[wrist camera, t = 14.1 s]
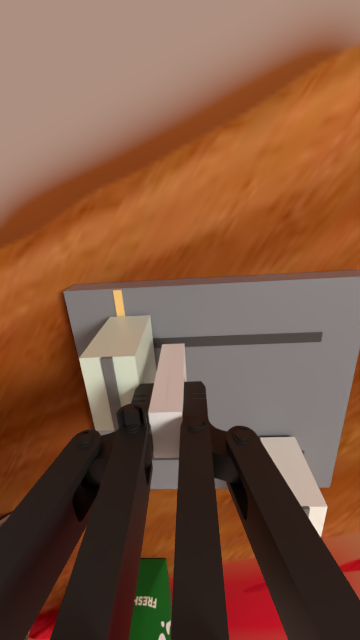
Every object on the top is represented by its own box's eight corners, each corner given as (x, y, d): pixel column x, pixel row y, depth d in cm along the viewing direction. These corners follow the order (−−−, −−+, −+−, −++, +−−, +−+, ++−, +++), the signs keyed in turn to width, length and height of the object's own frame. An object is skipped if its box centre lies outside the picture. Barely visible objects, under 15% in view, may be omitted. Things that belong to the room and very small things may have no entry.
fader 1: (119, 374, 22) (94, 432, 16) (109, 316, 20) (77, 359, 14) (156, 373, 22) (144, 431, 16) (150, 315, 20) (134, 357, 14)
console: (113, 471, 29) (108, 490, 27) (74, 284, 21) (62, 291, 20) (320, 469, 28) (330, 488, 26) (358, 269, 20) (376, 275, 18)
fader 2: (257, 477, 26) (276, 553, 20) (260, 437, 24) (282, 509, 18) (289, 477, 25) (318, 553, 20) (294, 436, 24) (328, 508, 18)
